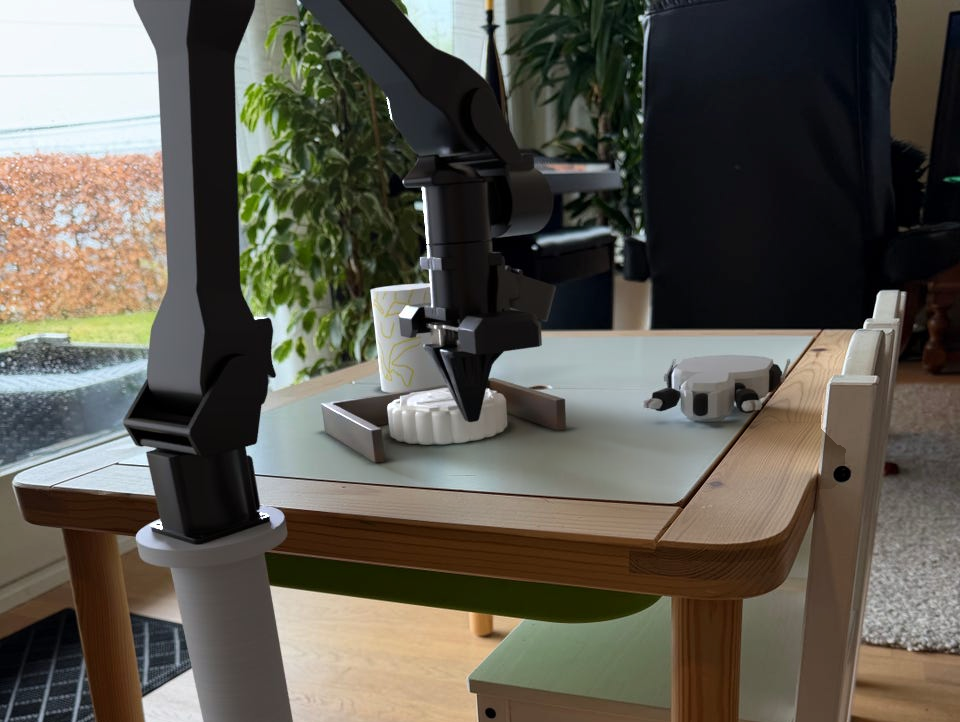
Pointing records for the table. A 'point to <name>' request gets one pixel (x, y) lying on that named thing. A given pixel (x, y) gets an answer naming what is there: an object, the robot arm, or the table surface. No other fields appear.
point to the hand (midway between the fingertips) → (472, 421)
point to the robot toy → (717, 385)
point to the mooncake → (443, 418)
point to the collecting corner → (362, 415)
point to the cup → (402, 340)
